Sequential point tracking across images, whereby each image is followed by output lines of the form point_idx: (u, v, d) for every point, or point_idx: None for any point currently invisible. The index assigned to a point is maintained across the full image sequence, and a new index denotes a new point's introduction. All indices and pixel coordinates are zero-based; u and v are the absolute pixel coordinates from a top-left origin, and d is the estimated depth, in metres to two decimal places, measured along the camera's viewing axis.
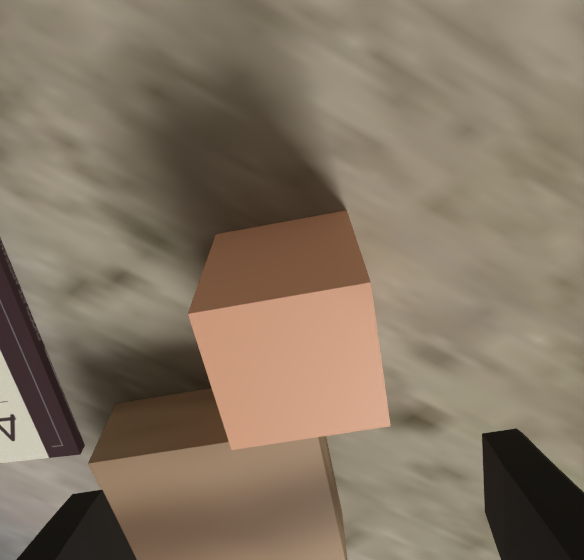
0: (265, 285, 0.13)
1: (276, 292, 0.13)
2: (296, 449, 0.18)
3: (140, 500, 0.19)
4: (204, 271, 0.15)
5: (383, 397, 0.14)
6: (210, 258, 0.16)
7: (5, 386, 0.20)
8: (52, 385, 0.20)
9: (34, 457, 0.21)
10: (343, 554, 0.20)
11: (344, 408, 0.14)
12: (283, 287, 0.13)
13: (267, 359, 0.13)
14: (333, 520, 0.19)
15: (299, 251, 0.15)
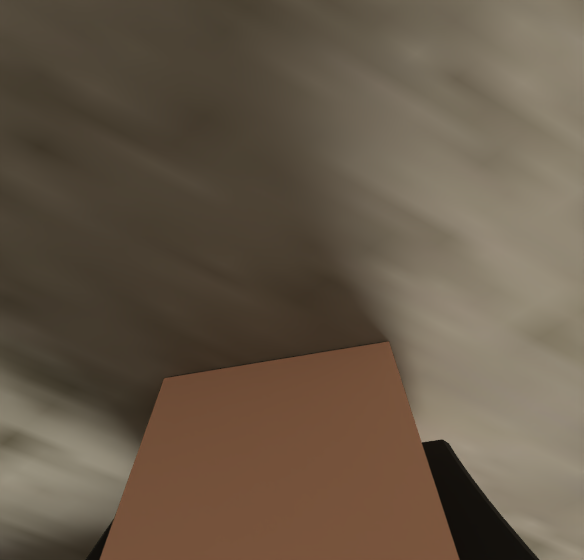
0: None
1: None
2: None
3: None
4: (122, 505, 0.07)
5: None
6: (141, 458, 0.08)
7: None
8: None
9: None
10: None
11: None
12: None
13: None
14: None
15: (309, 466, 0.07)
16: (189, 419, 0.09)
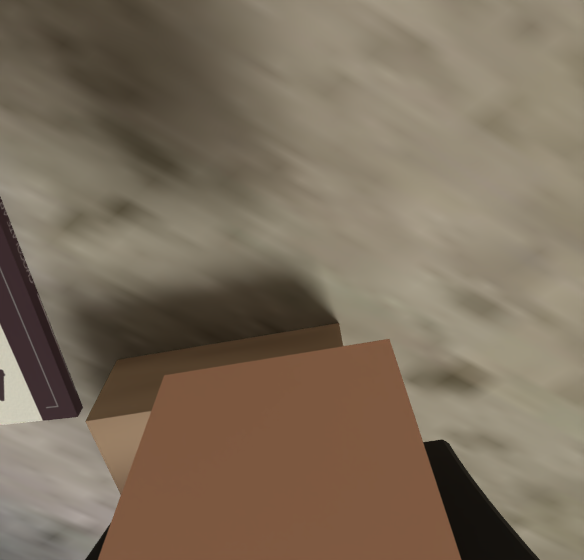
0: None
1: None
2: None
3: None
4: (122, 501, 0.07)
5: None
6: (141, 454, 0.08)
7: None
8: (46, 336, 0.17)
9: (26, 420, 0.19)
10: None
11: None
12: None
13: None
14: None
15: (309, 463, 0.07)
16: (189, 416, 0.09)
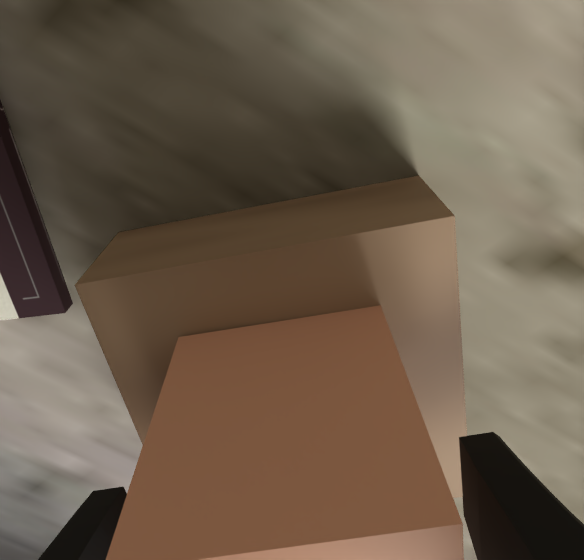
0: (254, 495, 0.07)
1: (275, 525, 0.07)
2: (416, 259, 0.11)
3: (159, 354, 0.12)
4: (149, 434, 0.09)
5: None
6: (163, 398, 0.09)
7: None
8: (21, 190, 0.13)
9: None
10: None
11: None
12: (288, 510, 0.07)
13: None
14: (460, 393, 0.12)
15: (312, 401, 0.09)
16: (204, 368, 0.10)
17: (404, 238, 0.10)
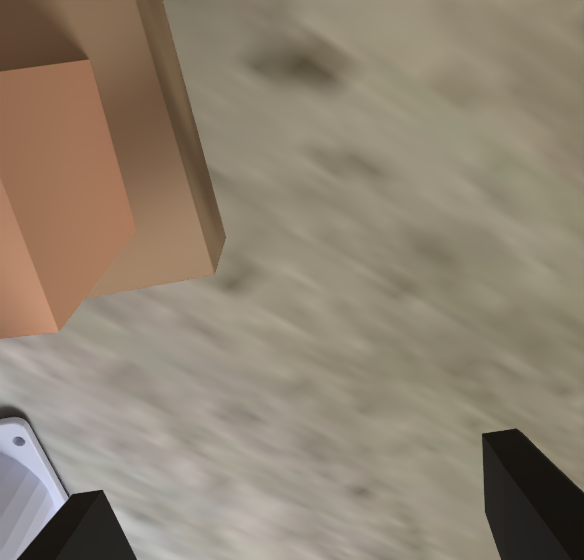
0: None
1: None
2: (103, 12, 0.12)
3: None
4: None
5: (35, 283, 0.09)
6: None
7: None
8: None
9: None
10: (200, 227, 0.15)
11: None
12: None
13: None
14: (177, 159, 0.14)
15: None
16: None
17: None
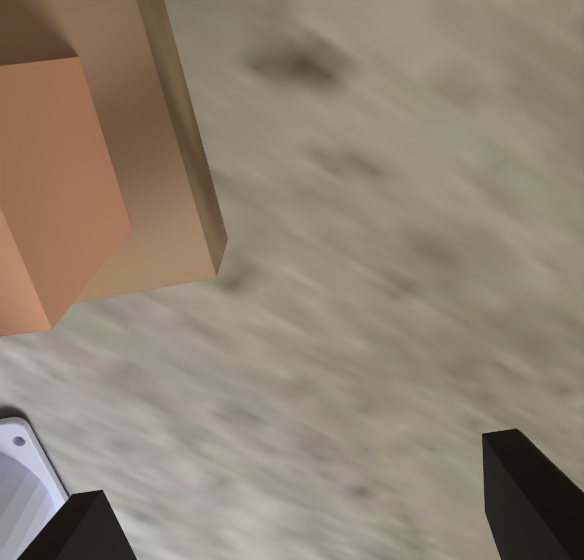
0: None
1: None
2: (105, 16, 0.12)
3: None
4: None
5: (26, 280, 0.09)
6: None
7: None
8: None
9: None
10: (202, 230, 0.15)
11: None
12: None
13: None
14: (179, 162, 0.14)
15: None
16: None
17: None
